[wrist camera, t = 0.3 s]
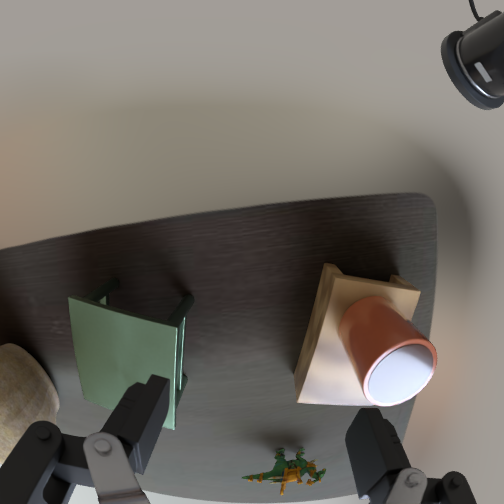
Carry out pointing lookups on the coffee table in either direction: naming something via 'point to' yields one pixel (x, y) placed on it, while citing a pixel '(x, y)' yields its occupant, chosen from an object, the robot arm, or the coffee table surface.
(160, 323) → the green miniature table
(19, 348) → the vase
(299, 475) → the figurine
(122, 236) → the coffee table surface
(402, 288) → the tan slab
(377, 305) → the cup
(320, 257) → the coffee table surface
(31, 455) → the robot arm
